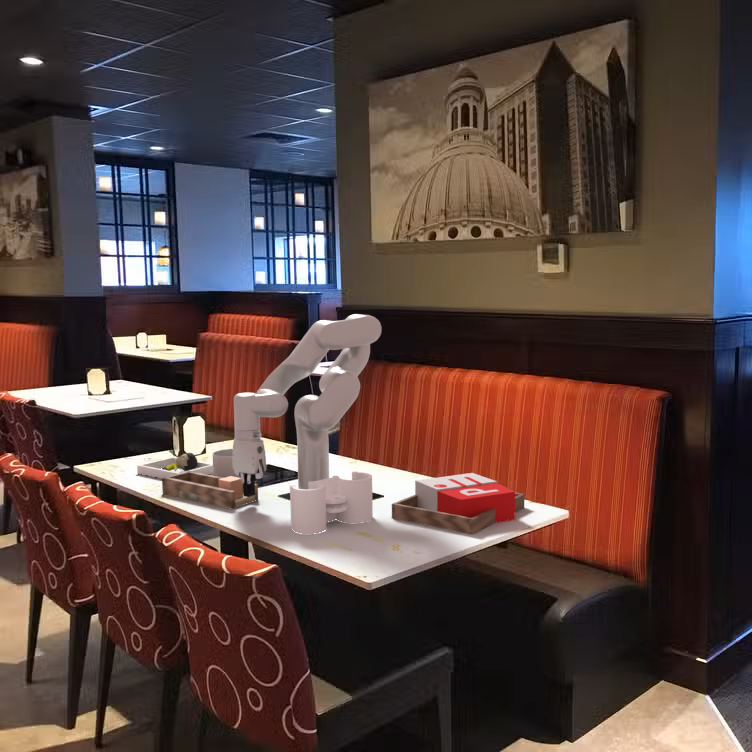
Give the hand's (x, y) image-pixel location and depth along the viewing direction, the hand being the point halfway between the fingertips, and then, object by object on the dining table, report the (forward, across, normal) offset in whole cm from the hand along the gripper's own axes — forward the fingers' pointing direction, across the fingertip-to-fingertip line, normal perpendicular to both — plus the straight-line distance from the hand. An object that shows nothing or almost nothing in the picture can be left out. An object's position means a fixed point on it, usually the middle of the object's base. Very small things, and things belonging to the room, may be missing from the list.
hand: (249, 495), depth 244 cm
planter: (+3, +23, -16) cm, 28 cm away
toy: (+3, +50, -15) cm, 52 cm away
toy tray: (+3, +50, -15) cm, 52 cm away
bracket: (+3, -32, 0) cm, 32 cm away
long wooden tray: (+3, +18, 0) cm, 18 cm away
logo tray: (+3, -55, -28) cm, 62 cm away
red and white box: (+3, -57, -29) cm, 64 cm away
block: (+1, +8, 0) cm, 8 cm away
